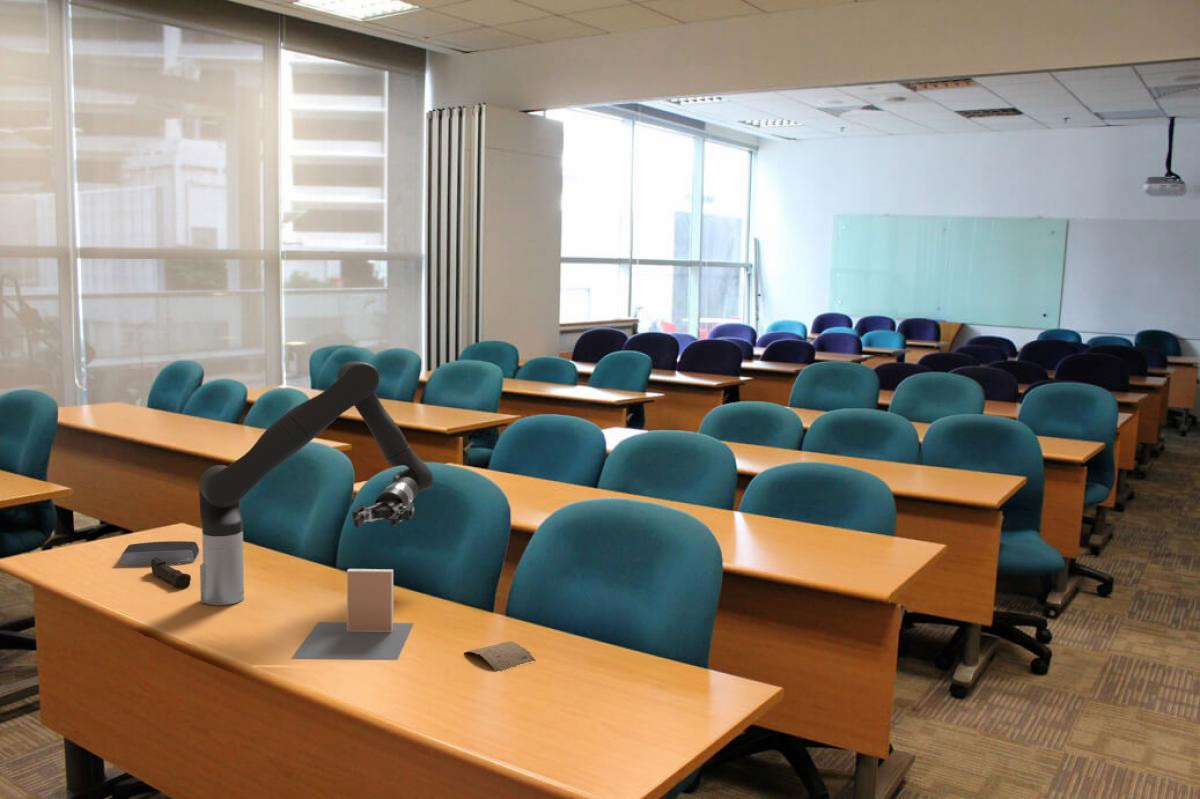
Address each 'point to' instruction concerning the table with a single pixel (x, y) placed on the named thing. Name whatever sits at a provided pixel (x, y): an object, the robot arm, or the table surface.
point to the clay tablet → (504, 655)
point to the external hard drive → (159, 553)
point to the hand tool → (170, 574)
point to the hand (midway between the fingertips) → (374, 523)
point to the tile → (370, 600)
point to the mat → (352, 643)
